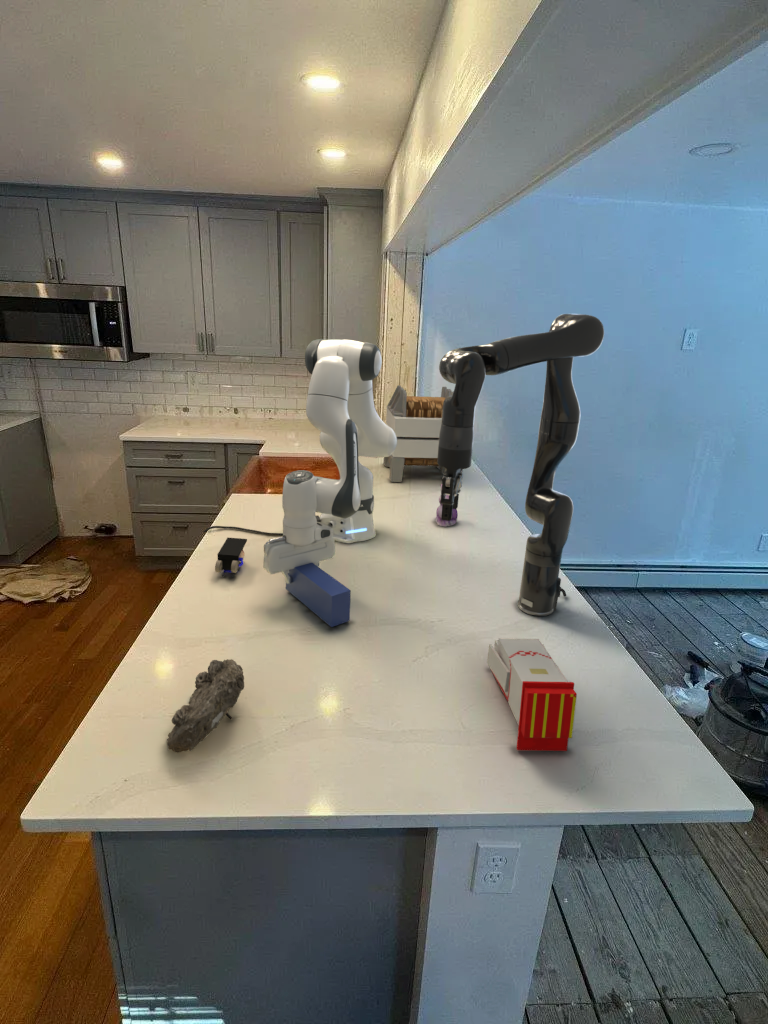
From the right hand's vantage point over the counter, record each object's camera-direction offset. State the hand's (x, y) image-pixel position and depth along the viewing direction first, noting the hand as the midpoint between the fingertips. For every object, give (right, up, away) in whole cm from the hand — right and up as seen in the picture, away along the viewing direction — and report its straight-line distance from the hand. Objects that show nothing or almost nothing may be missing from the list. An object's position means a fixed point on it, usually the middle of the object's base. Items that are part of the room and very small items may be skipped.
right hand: (449, 513), depth 130 cm
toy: (+13, -39, -14) cm, 43 cm away
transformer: (+2, +19, +145) cm, 146 cm away
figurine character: (-60, -17, +38) cm, 73 cm away
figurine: (+8, -4, +82) cm, 83 cm away
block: (-33, -24, +19) cm, 45 cm away
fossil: (-48, -39, -22) cm, 65 cm away
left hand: (-38, -18, +24) cm, 48 cm away
